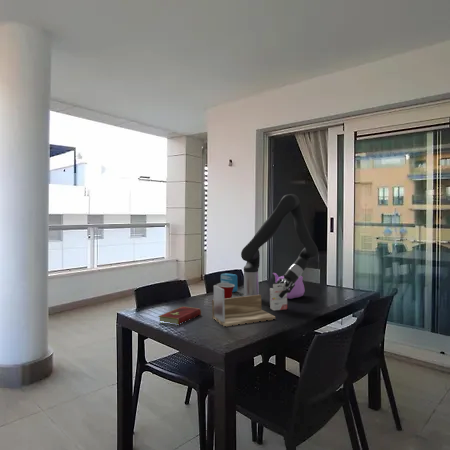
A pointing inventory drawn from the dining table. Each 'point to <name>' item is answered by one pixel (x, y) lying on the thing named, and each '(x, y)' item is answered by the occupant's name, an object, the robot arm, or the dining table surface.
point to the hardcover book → (180, 315)
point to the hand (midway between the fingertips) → (276, 295)
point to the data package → (230, 280)
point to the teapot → (297, 289)
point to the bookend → (219, 303)
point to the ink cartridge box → (277, 298)
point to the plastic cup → (226, 289)
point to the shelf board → (243, 310)
